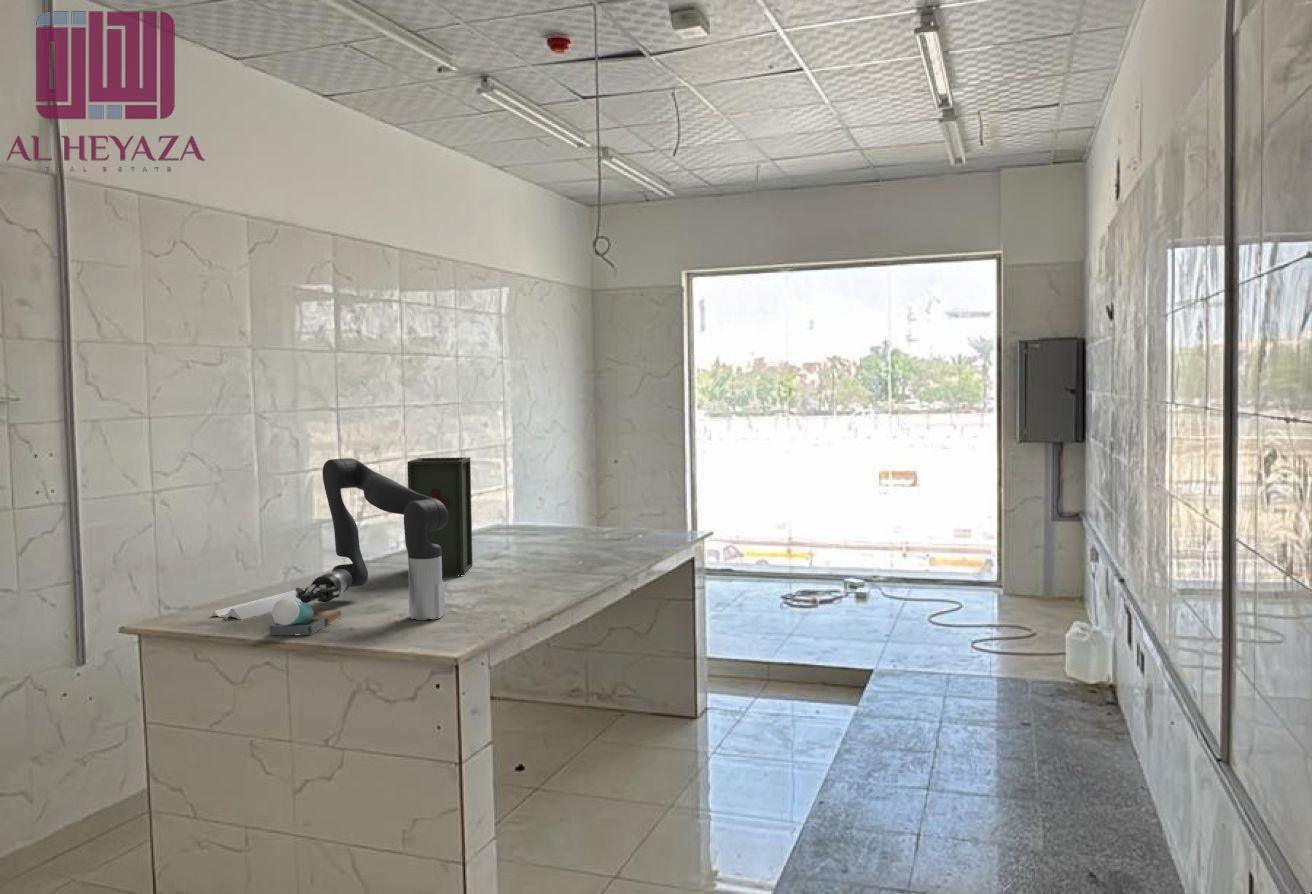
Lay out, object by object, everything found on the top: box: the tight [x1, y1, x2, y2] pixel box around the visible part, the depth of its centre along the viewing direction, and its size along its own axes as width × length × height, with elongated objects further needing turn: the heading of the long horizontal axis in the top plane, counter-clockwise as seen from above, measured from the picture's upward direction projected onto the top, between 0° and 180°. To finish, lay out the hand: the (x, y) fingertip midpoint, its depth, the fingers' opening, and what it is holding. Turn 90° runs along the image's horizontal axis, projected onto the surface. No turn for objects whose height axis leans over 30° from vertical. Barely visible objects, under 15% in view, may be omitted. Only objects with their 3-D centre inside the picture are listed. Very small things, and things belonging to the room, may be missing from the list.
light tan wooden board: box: [308, 610, 342, 626], centre depth 263 cm, size 12×10×2 cm
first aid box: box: [407, 457, 473, 577], centre depth 335 cm, size 18×18×40 cm
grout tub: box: [271, 598, 314, 625], centre depth 251 cm, size 7×7×11 cm
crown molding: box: [211, 589, 305, 620], centre depth 283 cm, size 31×12×4 cm, turn 156°
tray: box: [269, 617, 326, 636], centre depth 254 cm, size 11×10×3 cm
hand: (304, 599), depth 258 cm, fingers closed
